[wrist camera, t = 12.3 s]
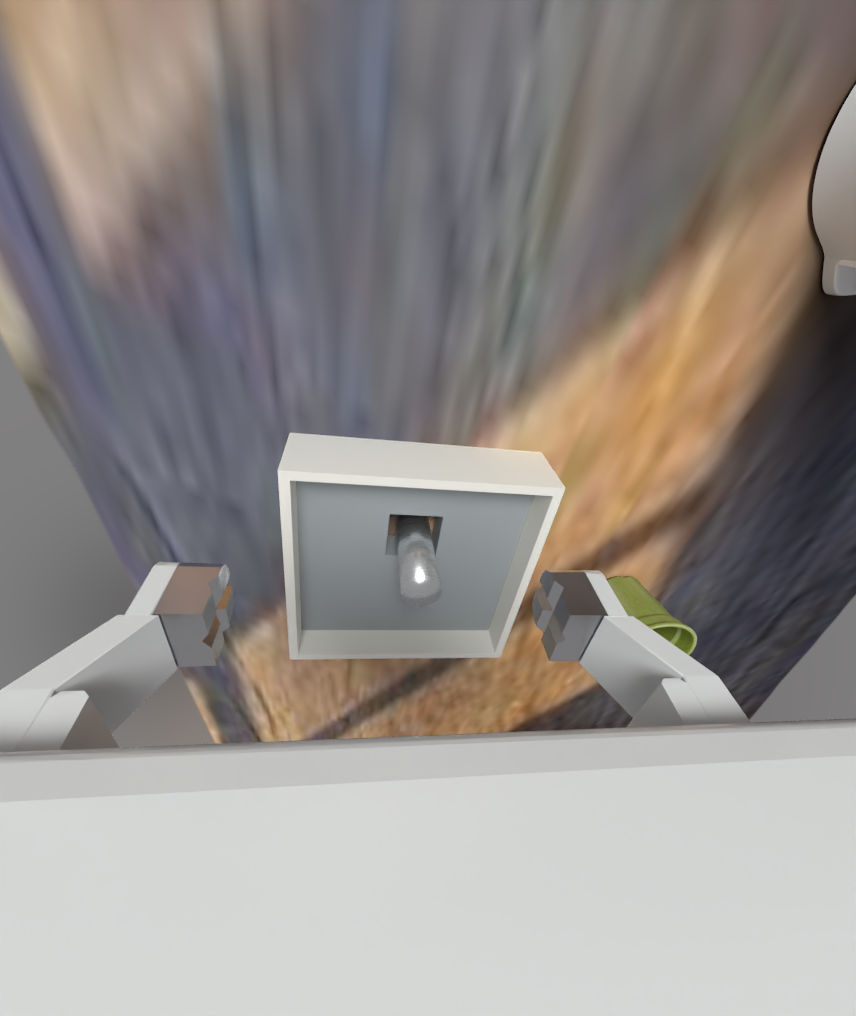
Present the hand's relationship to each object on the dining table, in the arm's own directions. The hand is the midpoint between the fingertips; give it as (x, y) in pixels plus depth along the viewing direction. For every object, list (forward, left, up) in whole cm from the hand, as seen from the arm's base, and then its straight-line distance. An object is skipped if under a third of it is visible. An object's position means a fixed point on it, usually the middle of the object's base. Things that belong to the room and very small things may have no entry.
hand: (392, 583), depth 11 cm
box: (-5, +20, -25) cm, 32 cm away
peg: (-5, +17, -25) cm, 31 cm away
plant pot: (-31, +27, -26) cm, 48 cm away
